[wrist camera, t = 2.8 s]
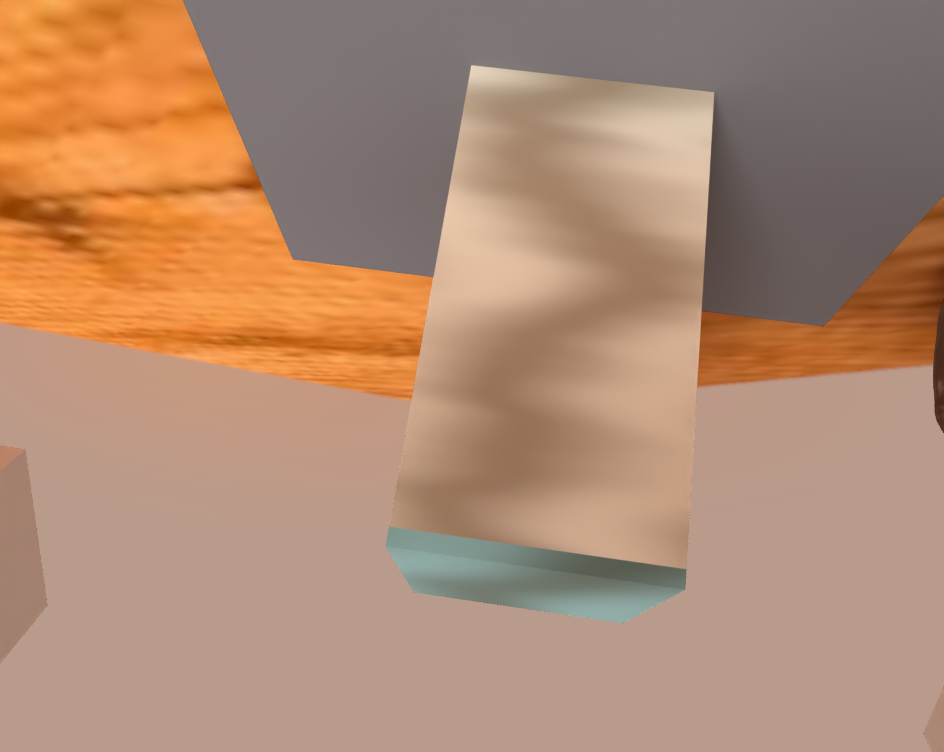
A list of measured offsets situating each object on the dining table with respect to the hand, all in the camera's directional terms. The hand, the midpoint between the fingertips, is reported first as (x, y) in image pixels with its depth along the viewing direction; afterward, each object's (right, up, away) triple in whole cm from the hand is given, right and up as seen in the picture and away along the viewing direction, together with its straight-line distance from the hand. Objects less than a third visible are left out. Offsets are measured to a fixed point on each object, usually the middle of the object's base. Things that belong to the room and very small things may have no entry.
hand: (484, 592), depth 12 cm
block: (+3, +9, +13) cm, 16 cm away
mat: (+3, +10, +13) cm, 16 cm away
